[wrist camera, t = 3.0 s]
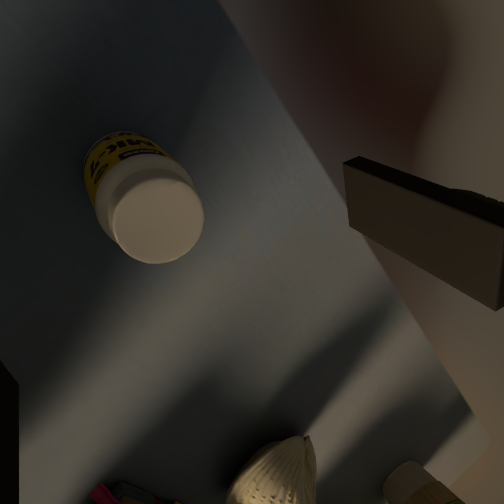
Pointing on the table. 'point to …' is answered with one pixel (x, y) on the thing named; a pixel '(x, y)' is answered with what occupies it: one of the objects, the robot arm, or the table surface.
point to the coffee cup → (416, 487)
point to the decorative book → (123, 495)
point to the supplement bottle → (143, 197)
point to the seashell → (277, 475)
